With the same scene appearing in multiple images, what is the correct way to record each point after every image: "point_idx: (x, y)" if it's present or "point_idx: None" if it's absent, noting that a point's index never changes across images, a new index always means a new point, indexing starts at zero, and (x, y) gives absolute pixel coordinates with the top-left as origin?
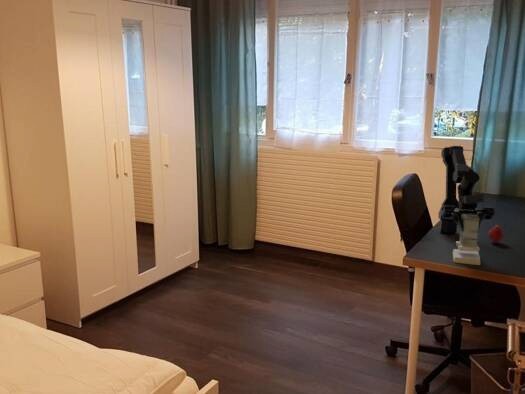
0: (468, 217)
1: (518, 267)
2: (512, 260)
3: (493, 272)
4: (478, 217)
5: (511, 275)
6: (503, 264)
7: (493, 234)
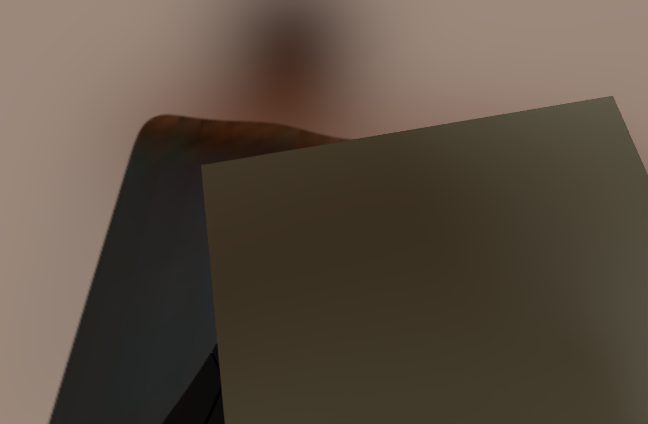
0: (533, 141)
1: (114, 234)
2: (113, 333)
3: (240, 135)
4: (218, 247)
5: (173, 125)
6: (174, 253)
7: None
